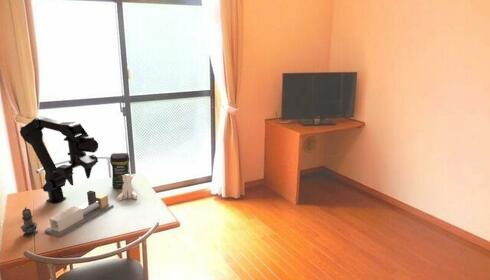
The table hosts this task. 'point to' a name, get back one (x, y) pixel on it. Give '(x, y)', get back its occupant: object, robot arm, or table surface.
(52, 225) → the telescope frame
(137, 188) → the table surface
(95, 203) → the steel t-shaped block
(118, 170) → the coffee jar
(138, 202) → the table surface
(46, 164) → the robot arm
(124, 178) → the seated beast figurine
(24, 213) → the dark grey statuette
